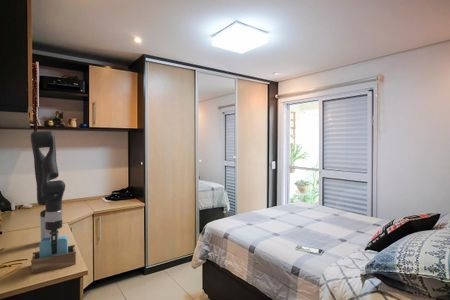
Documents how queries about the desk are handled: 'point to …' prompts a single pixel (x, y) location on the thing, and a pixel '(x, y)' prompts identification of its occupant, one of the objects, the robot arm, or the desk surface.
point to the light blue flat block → (46, 248)
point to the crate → (53, 260)
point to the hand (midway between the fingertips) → (54, 251)
